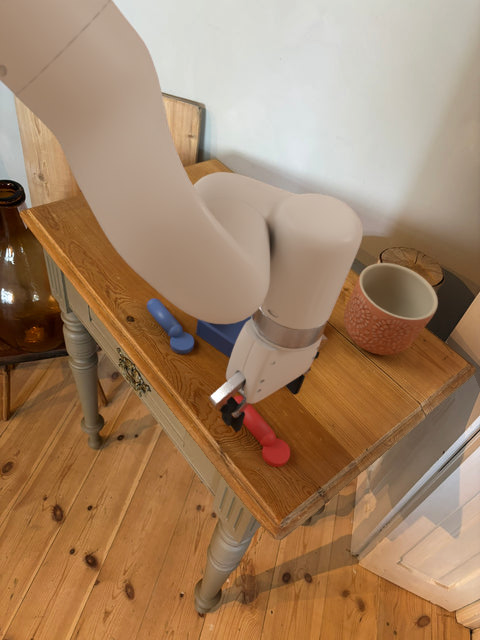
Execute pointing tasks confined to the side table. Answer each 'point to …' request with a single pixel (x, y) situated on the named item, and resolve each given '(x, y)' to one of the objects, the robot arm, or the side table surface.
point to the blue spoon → (171, 327)
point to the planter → (388, 308)
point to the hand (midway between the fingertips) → (260, 403)
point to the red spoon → (265, 437)
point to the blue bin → (220, 334)
